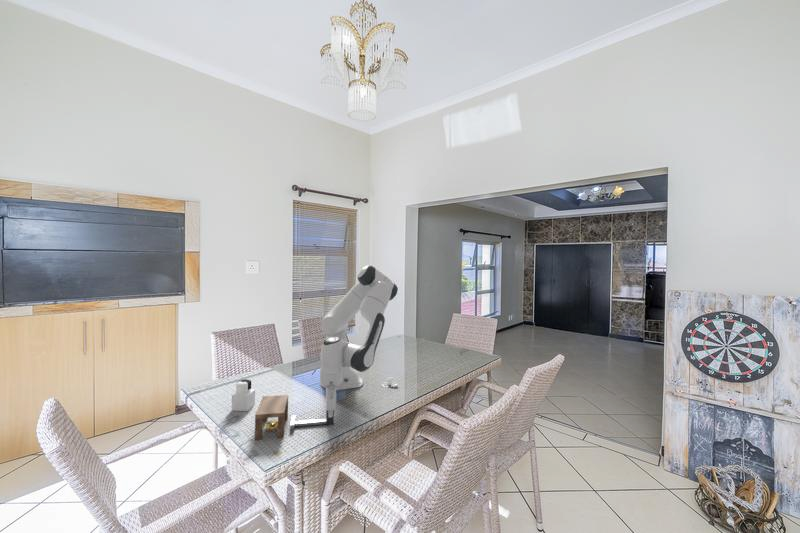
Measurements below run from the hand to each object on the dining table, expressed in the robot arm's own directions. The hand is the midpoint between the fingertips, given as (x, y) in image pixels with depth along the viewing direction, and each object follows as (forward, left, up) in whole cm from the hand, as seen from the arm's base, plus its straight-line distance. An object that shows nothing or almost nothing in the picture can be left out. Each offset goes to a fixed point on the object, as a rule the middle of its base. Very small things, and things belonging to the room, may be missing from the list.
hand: (330, 411), depth 137 cm
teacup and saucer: (-30, -34, -6) cm, 46 cm away
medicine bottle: (+37, -20, -5) cm, 43 cm away
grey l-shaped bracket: (+7, 0, -5) cm, 9 cm away
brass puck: (+22, 0, -5) cm, 23 cm away
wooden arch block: (+22, 0, -5) cm, 23 cm away
